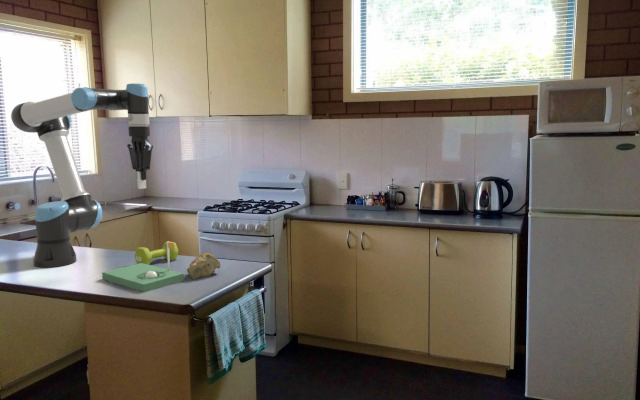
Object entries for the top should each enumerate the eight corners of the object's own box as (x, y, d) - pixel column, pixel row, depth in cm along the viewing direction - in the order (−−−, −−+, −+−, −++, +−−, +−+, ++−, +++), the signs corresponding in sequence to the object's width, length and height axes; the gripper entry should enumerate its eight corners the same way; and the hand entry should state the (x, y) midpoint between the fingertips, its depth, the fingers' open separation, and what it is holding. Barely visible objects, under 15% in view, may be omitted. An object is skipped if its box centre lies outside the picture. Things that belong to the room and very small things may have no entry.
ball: (141, 273, 186) (147, 271, 184) (151, 271, 189) (157, 268, 187) (144, 285, 186) (151, 282, 183) (154, 282, 189) (160, 279, 187)
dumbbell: (144, 268, 205) (143, 250, 204) (132, 265, 210) (131, 247, 209) (181, 260, 217) (180, 242, 216) (168, 257, 222) (168, 239, 221)
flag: (167, 277, 192) (166, 241, 191) (169, 277, 193) (168, 241, 191) (174, 279, 190) (172, 242, 188) (176, 278, 191) (174, 242, 189)
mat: (102, 279, 190) (102, 272, 190) (141, 269, 203) (141, 262, 203) (144, 292, 176) (143, 284, 176) (183, 280, 189) (183, 273, 189)
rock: (198, 291, 193) (189, 270, 188) (185, 281, 199) (176, 261, 193) (224, 271, 199) (216, 251, 193) (211, 263, 205) (203, 242, 199)
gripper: (119, 125, 205) (123, 188, 208) (140, 125, 197) (144, 190, 200) (137, 125, 211) (140, 186, 214) (158, 125, 203) (161, 188, 206)
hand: (142, 188), depth 207 cm, fingers closed
